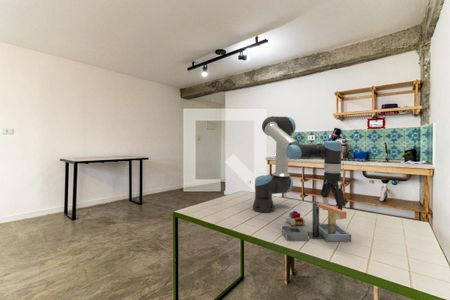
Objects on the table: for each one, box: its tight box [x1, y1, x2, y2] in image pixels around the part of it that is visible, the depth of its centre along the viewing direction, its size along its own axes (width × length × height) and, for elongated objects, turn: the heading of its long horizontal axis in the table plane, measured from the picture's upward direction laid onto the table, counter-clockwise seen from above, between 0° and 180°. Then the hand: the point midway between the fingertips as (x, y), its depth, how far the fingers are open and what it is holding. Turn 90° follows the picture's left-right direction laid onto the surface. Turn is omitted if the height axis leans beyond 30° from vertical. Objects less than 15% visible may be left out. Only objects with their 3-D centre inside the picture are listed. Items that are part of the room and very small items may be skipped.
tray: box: [319, 223, 352, 243], centre depth 106 cm, size 14×11×3 cm
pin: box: [327, 210, 337, 234], centre depth 106 cm, size 4×4×13 cm
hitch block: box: [281, 225, 309, 242], centre depth 106 cm, size 10×10×3 cm
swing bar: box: [312, 201, 347, 220], centre depth 98 cm, size 3×18×3 cm, turn 21°
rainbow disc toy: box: [285, 210, 306, 226], centre depth 122 cm, size 8×10×7 cm
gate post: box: [306, 205, 325, 240], centre depth 105 cm, size 6×6×16 cm
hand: (331, 214), depth 106 cm, fingers open, 13 cm apart
